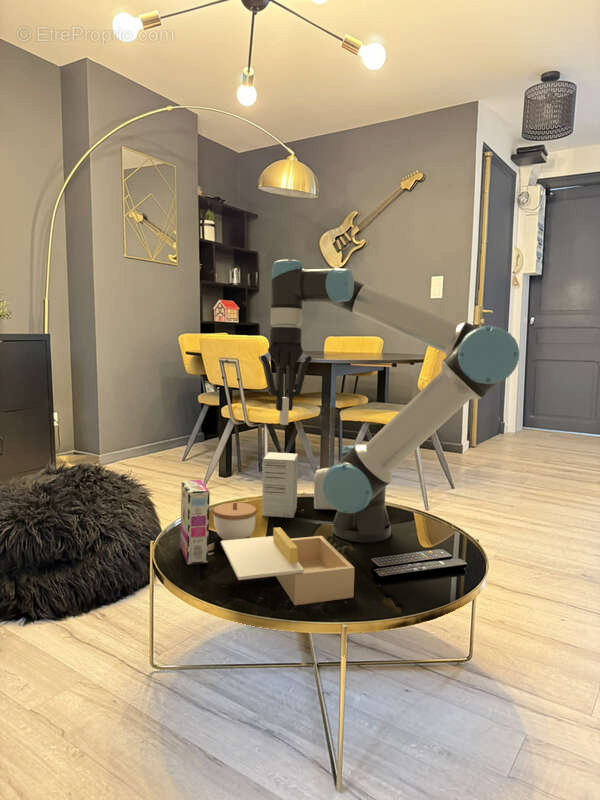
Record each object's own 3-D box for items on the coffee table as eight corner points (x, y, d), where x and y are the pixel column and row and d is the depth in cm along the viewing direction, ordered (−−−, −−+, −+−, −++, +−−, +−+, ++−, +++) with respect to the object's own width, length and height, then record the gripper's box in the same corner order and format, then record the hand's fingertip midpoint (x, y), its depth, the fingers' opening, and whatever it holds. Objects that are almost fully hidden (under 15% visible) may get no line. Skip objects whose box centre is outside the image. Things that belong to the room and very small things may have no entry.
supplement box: (266, 506, 161) (267, 451, 160) (297, 508, 160) (298, 453, 159) (261, 516, 152) (262, 458, 150) (293, 518, 151) (294, 459, 149)
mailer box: (320, 561, 121) (321, 535, 120) (353, 597, 104) (354, 567, 103) (269, 567, 117) (270, 540, 116) (294, 605, 100) (295, 574, 99)
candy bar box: (209, 563, 118) (210, 491, 117) (187, 565, 117) (187, 492, 115) (200, 545, 129) (201, 478, 127) (179, 547, 127) (180, 480, 125)
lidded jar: (217, 548, 127) (217, 510, 126) (209, 533, 137) (210, 497, 136) (260, 544, 130) (261, 506, 129) (250, 529, 140) (250, 495, 140)
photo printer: (313, 509, 159) (314, 469, 158) (313, 505, 163) (314, 466, 162) (348, 511, 159) (349, 470, 158) (347, 506, 163) (348, 467, 162)
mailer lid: (276, 538, 117) (277, 522, 117) (303, 572, 100) (304, 553, 99) (220, 543, 113) (220, 527, 113) (238, 580, 96) (238, 560, 95)
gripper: (306, 328, 134) (304, 421, 136) (255, 326, 130) (254, 422, 132) (316, 327, 127) (314, 425, 129) (263, 325, 122) (261, 426, 125)
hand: (283, 423), depth 130 cm, fingers closed
